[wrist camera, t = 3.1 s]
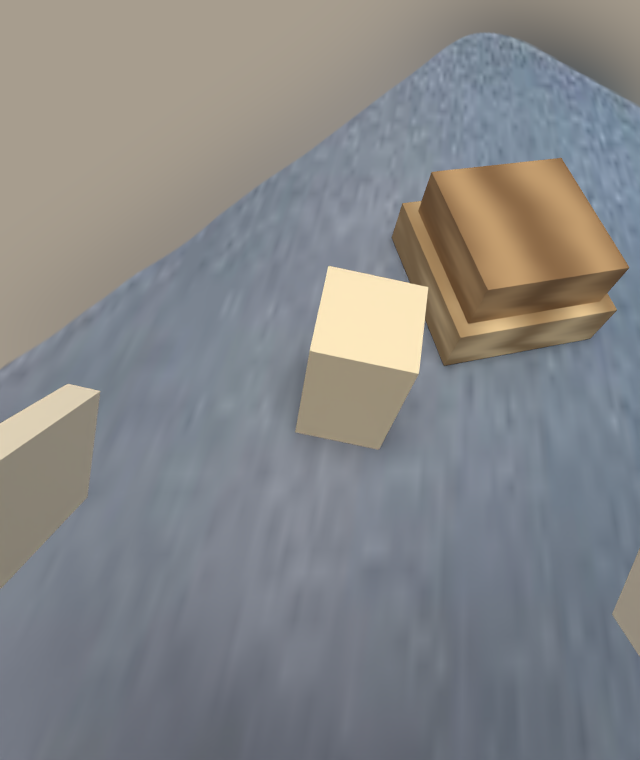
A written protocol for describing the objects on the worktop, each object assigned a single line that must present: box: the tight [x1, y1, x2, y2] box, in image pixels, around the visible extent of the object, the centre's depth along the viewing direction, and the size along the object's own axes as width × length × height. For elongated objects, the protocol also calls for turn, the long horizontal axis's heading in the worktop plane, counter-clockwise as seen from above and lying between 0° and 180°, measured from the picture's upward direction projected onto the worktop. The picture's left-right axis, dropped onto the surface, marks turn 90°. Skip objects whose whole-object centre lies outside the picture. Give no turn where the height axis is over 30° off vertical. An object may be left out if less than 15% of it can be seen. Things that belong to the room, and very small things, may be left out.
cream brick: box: [295, 266, 428, 450], centre depth 38 cm, size 6×6×11 cm
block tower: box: [392, 158, 629, 366], centre depth 46 cm, size 13×13×8 cm
